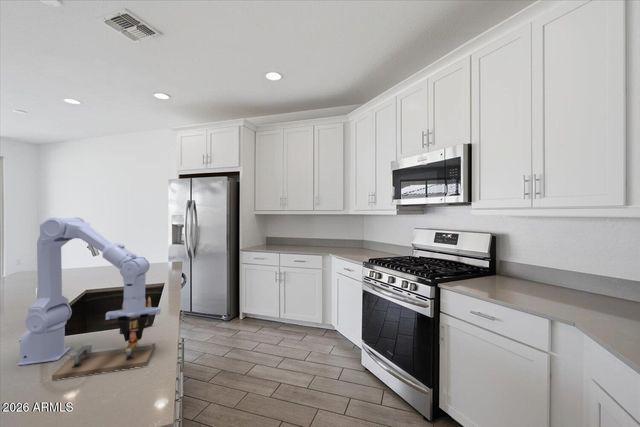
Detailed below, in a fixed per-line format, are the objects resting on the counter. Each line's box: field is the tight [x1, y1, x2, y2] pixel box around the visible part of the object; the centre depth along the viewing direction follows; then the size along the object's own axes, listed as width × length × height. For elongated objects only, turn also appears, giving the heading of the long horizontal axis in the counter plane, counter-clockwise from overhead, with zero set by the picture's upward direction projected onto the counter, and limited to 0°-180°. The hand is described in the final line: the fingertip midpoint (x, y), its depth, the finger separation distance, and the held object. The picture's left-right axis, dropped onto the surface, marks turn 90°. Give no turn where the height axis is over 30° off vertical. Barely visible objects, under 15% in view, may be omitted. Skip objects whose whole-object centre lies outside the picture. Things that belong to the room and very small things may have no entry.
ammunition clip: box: [119, 296, 153, 335], centre depth 110 cm, size 11×2×12 cm, turn 141°
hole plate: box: [51, 342, 156, 381], centre depth 85 cm, size 22×13×2 cm, turn 110°
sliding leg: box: [126, 329, 140, 359], centre depth 87 cm, size 3×7×6 cm, turn 21°
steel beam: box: [68, 342, 153, 360], centre depth 87 cm, size 21×2×2 cm, turn 110°
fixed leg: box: [73, 344, 93, 367], centre depth 82 cm, size 2×7×3 cm, turn 20°
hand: (133, 339), depth 89 cm, fingers closed on sliding leg, 3 cm apart
